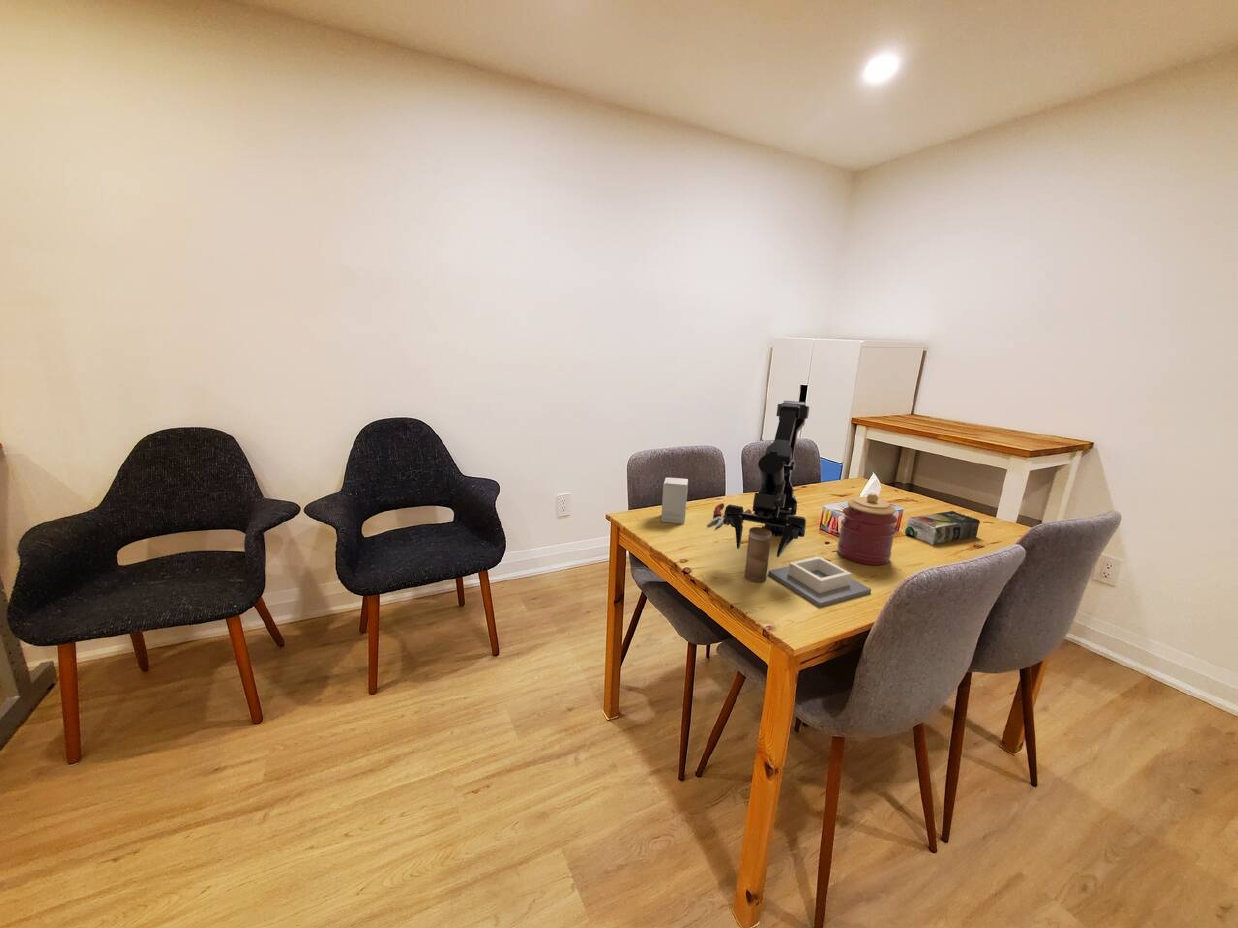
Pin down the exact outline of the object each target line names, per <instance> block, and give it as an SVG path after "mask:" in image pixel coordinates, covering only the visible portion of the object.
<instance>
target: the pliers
mask: <svg viewBox="0 0 1238 928" xmlns="http://www.w3.org/2000/svg"><path fill="white" fill-rule="evenodd" d="M723 508H725V503H722V502H721V503H719V504H717V505H716V506H715V507H714V514H713V515H712V520H710V521H709V523H708V524H707V525H706V527H710V526H711V527H712V526H715V525H716V526H715V529H717V528H719V527H722V526H723V525H724V523H725V524H729V523H727V522H726V518H725V514H724V515H722V512H721V511H722V510H723ZM744 512H746V513H752V510H751V509H749V508H747V510H745V511H744ZM752 514H753V513H752ZM729 525H730V524H729Z"/></svg>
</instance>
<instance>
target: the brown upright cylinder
mask: <svg viewBox="0 0 1238 928" xmlns="http://www.w3.org/2000/svg"><path fill="white" fill-rule="evenodd" d="M762 527H763V526H753V527H750V528H749V529H748V540H747V549H746V550H747V551H746V559H745V569H744V578H745V579H746V580H747V581H749V582H753V583H764V582H766V580H767V575H768V568H769V567H768V565H769V564H768V563H769V558H770V557H769V556H770V549H771V539H772V535H773V534H772V532H771V531H770V530H768V529H766V528H762Z"/></svg>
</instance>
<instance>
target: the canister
mask: <svg viewBox="0 0 1238 928" xmlns="http://www.w3.org/2000/svg"><path fill="white" fill-rule="evenodd" d="M878 496H879V495H878V494H876V493H875V492H870V493H868V494H867V496H858V497H857V496H856V497H854V498H853V499H850V500H848V501H847V505H848V506H846V507H844V508H843V509H842V513H843V515H844V517H843V519H841V522H840V531H839V532H840V533H839V539H838V541H837V552H838V554H839V555H840V556H842V558H845V559H847V560H849V561H851V562H854V563H859V564H862V565H867V566H883V565H887V564H888V563H889V562H890V558H891V557H892V556H891V555H892V547H893V543H894V536H895V534H896V529H895V524H896V523H897V522H898V520H899V519H898V517H897V516H896V515H895V512H896V507H894V506H893V505H891V504H890V503H889V502H888V501H887V500H883V499H882V498H881V499H880V498H879V497H878Z"/></svg>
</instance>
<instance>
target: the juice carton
mask: <svg viewBox="0 0 1238 928" xmlns="http://www.w3.org/2000/svg"><path fill="white" fill-rule="evenodd" d="M980 524H981V523H980V520H979V519H977V518H975V517H972V516H969V515H965V514H962V513H959V512H956V511H954V510H949V511H944V512H937V513H931V514H924V515H915V516H910V517H907V519H906V526H905V529H904V534H906V535H911V536H913V537H914V538H915V539H918V540H920V541H922V542H925V543H927V544H929V545H939V544H945V543H949V542H956V541H961V540H968V539H973V538H976V537H977V536H978V530H979V527H980Z"/></svg>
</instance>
